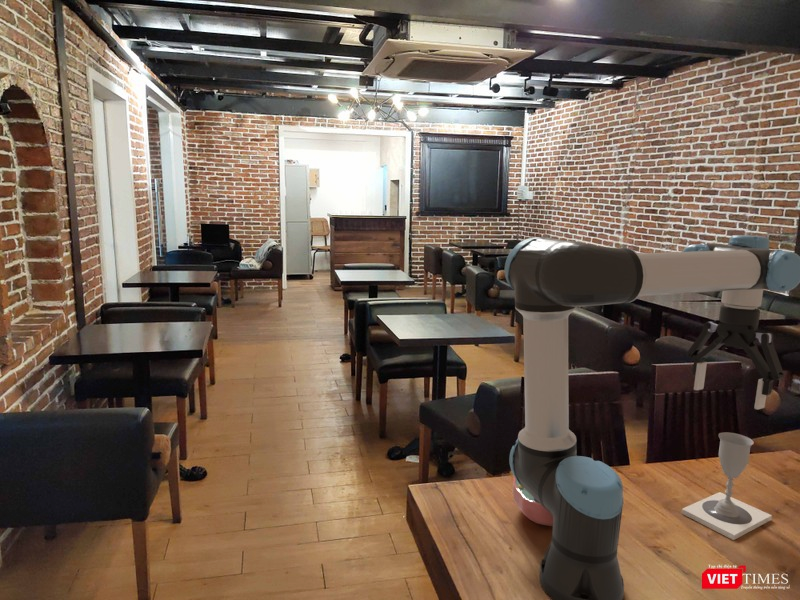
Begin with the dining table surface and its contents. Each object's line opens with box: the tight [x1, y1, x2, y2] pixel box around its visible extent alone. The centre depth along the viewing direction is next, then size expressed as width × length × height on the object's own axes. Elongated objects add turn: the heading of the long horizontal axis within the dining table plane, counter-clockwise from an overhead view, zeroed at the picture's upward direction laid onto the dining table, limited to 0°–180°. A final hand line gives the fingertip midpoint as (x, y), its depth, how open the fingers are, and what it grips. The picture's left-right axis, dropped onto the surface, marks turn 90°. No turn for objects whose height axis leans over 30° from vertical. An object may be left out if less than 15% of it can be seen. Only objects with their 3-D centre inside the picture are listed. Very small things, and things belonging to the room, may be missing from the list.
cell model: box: [512, 476, 553, 528], centre depth 126 cm, size 17×20×11 cm
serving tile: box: [680, 491, 773, 541], centre depth 129 cm, size 16×12×1 cm
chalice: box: [714, 431, 754, 518], centre depth 127 cm, size 7×7×18 cm
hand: (727, 398), depth 125 cm, fingers open, 13 cm apart
